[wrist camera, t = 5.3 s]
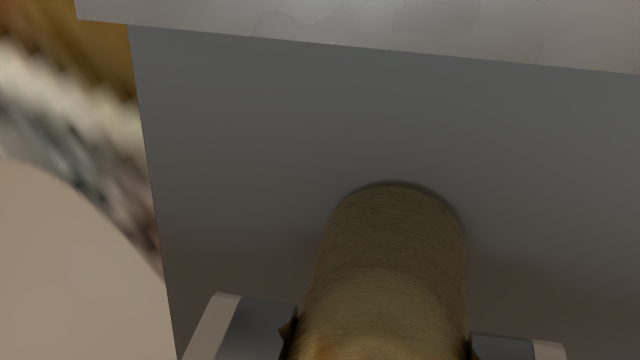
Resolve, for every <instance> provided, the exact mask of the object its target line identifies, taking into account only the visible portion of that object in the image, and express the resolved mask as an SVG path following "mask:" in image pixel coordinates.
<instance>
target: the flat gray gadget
mask: <svg viewBox="0 0 640 360" xmlns="http://www.w3.org/2000/svg"><path fill="white" fill-rule="evenodd" d="M74 5H75V10H76V15H77V19H79V20H89V21H99V22H109V23H119V24H130V25H140V26H150V27H160V28H170V29H180V30H191V31H201V32H211V33H221V34H231V35H241V36H251V37H262V38H272V39H282V40H292V41H302V42H312V43H323V44H333V45H343V46H353V47H363V48H373V49H383V50H394V51H404V52H414V53H424V54H434V55H444V56H455V57H465V58H475V59H485V60H495V61H505V62H515V63H526V64H536V65H546V66H556V67H566V68H576V69H587V70H597V71H607V72H617V73H627V74H637V75H640V0H74Z"/></svg>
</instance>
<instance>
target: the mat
mask: <svg viewBox="0 0 640 360" xmlns="http://www.w3.org/2000/svg"><path fill="white" fill-rule="evenodd" d="M126 26H127V32H128V39H129V45H130V52H131V59H132V65H133V72H134V78H135V85H136V91H137V98H138V105H139V111H140V118H141V124H142V131H143V137H144V144H145V151H146V157H147V164H148V170H149V177H150V184H151V190H152V197H153V203H154V210H155V216H156V223H157V230H158V236H159V243H160V249H161V256H162V262H163V269H164V276H165V282H166V289H167V295H168V302H169V308H170V315H171V322H172V328H173V335H174V341H175V348H176V355H177V360H181V359H182V357H183V355H184V353H185V351H186V349H187V347H188V345H189V343H190V341H191V339H192V336H193V334H194V332H195V330H196V328H197V326H198V324H199V322H200V320H201V318H202V316H203V314H204V311H205V309H206V307H207V305H208V303H209V301H210V299H211V297H212V296H213V295H214V294H215V293H216V292H221V293H227V294H233V295H238V296H247V297H253V298H259V299H264V300H270V301H276V302H281V303H287V304H293V305H297V306H298V318H299V314H300V311H301V307H302V304H303V301H304V297H305V294H306V290H307V287H308V284H309V280H310V277H311V273H312V270H313V267H314V263H315V260H316V256H317V253H318V250H319V246H320V243H321V239H322V236H323V233H324V229H325V226H326V222H327V220H328V218H329V216H330V214H331V213H332V211H333V210H334V208H335V207H336V206H337V205H338V204H339V203H340V202H342V201H343V200H344V199H345V198H347V197H349V196H350V195H352V194H354V193H356V192H359V191H361V190H365V189H368V188H373V187H379V186H398V187H405V188H410V189H413V190H417V191H420V192H422V193H425V194H427V195H429V196H431V197H432V198H434V199H436V200H437V201H439V202H440V203H442V204H443V205H444V206H445V207H446V208H447V209H448V210H449V211H450V212H451V213H452V214H453V215H454V217H455V218H456V220H457V221H458V223H459V225H460V227H461V230H462V232H463V236H464V244H465V284H466V328H467V337H468V334H469V332H470V331H478V332H485V333H492V334H499V335H506V336H514V337H521V338H528V339H529V340H530V339H535V340H542V341H549V342H556V343H561V344H562V345H563V347H564V348H565V352H566V357H567V360H640V75H637V74H627V73H617V72H607V71H597V70H587V69H576V68H566V67H556V66H546V65H536V64H526V63H515V62H505V61H495V60H485V59H475V58H465V57H455V56H444V55H434V54H424V53H414V52H404V51H394V50H383V49H373V48H363V47H353V46H343V45H333V44H323V43H312V42H302V41H292V40H282V39H272V38H262V37H251V36H241V35H231V34H221V33H211V32H201V31H191V30H180V29H170V28H160V27H150V26H140V25H130V24H126Z"/></svg>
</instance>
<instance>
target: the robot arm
mask: <svg viewBox="0 0 640 360" xmlns="http://www.w3.org/2000/svg"><path fill="white" fill-rule="evenodd" d="M297 321H298V306H297V305H293V304H287V303H281V302H276V301H270V300H264V299H259V298H253V297H247V296H238V295H233V294H227V293H221V292H216V293H215V294H214V295H213V296H212V297H211V299H210V301H209V303H208V305H207V307H206V309H205V311H204V314H203V316H202V318H201V320H200V322H199V324H198V326H197V328H196V330H195V332H194V334H193V336H192V339H191V341H190V343H189V345H188V347H187V349H186V351H185V353H184V355H183V357H182V359H181V360H286V358H287V355H288V352H289V348H290V345H291V341H292V338H293V335H294V331H295V328H296V324H297ZM467 360H567V357H566V352H565V348H564V347H563V345H562V344H561V343H556V342H549V341H542V340H535V339H530V340H529V339H528V338H521V337H514V336H506V335H499V334H492V333H485V332H478V331H470V332H469V334H468V337H467Z"/></svg>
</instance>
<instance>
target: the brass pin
mask: <svg viewBox="0 0 640 360" xmlns="http://www.w3.org/2000/svg"><path fill="white" fill-rule="evenodd" d="M286 360H467V328H466V284H465V244H464V236H463V232H462V230H461V227H460V225H459V223H458V221H457V220H456V218H455V217H454V215H453V214H452V213H451V212H450V211H449V210H448V209H447V208H446V207H445V206H444V205H443V204H442V203H440V202H439V201H437V200H436V199H434V198H432V197H431V196H429V195H427V194H425V193H422V192H420V191H417V190H413V189H410V188H405V187H398V186H379V187H373V188H368V189H365V190H361V191H359V192H356V193H354V194H352V195H350V196H349V197H347V198H345V199H344V200H343V201H342V202H340V203H339V204H338V205H337V206H336V207H335V208H334V210H333V211H332V213H331V214H330V216H329V218H328V220H327V222H326V226H325V229H324V233H323V236H322V239H321V243H320V246H319V250H318V253H317V256H316V260H315V263H314V267H313V270H312V273H311V277H310V280H309V284H308V287H307V290H306V294H305V297H304V301H303V304H302V307H301V311H300V314H299V318H298V321H297V324H296V328H295V331H294V335H293V338H292V341H291V345H290V348H289V352H288V355H287V358H286Z"/></svg>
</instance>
